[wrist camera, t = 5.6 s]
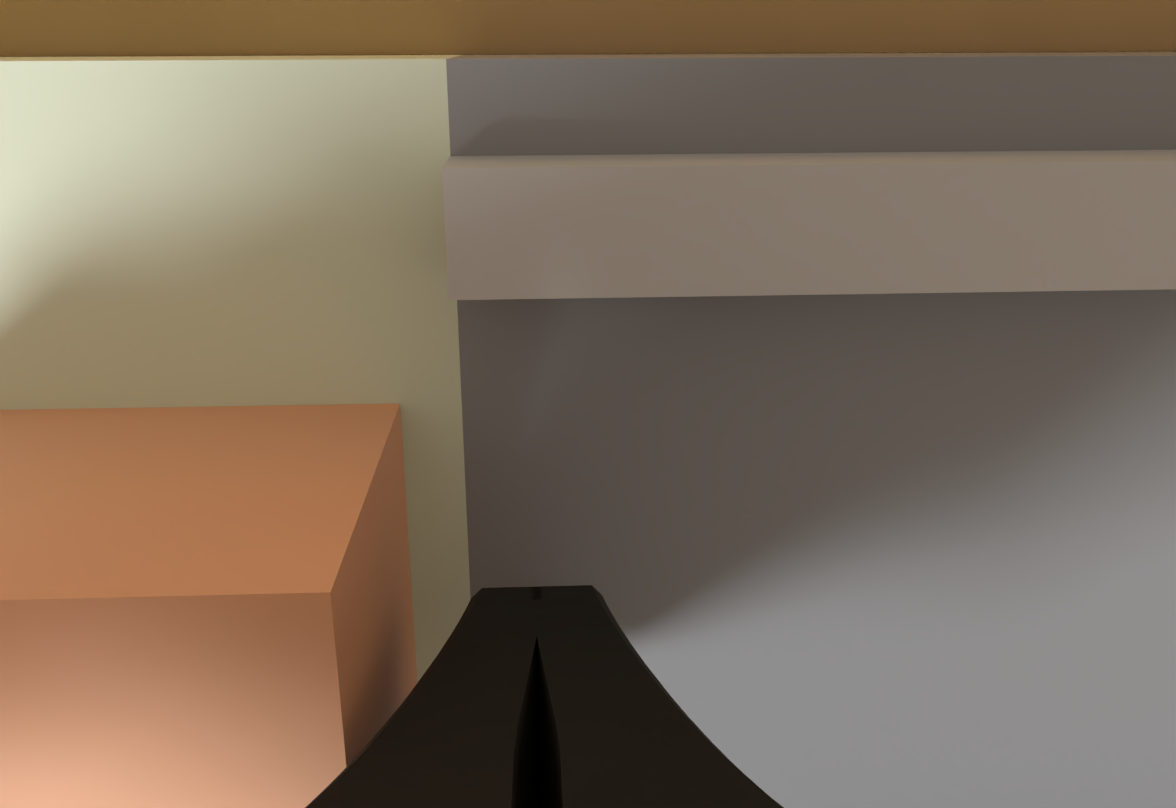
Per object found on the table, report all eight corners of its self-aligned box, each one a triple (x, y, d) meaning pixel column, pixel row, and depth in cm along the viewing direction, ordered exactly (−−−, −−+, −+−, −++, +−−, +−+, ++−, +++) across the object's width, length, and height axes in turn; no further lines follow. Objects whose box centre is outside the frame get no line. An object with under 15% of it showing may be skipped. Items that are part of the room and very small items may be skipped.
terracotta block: (424, 794, 13) (377, 1112, 9) (1, 808, 13) (-230, 1140, 9) (400, 404, 11) (330, 591, 7) (-88, 410, 11) (-418, 610, 7)
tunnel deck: (1839, 819, 17) (2148, 1003, 14) (-35, 893, 16) (-183, 1116, 13) (2206, 47, 13) (2756, 49, 10) (-244, 57, 12) (-539, 66, 9)
